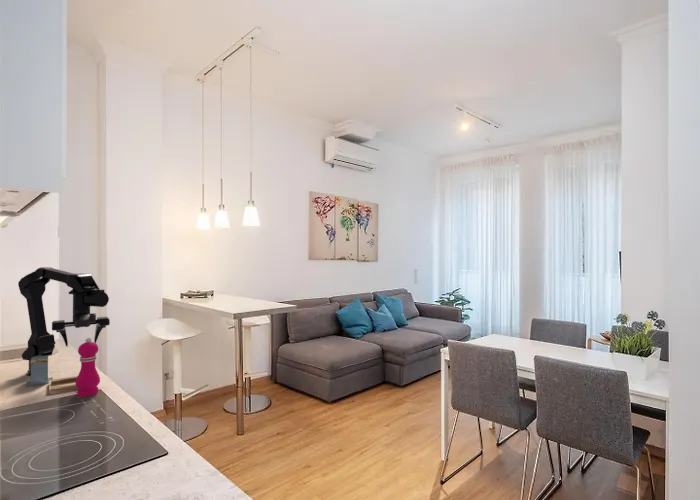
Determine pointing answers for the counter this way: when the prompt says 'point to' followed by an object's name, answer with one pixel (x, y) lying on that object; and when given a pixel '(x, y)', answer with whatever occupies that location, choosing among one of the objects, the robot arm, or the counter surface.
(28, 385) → the mat
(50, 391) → the beige shallow tray
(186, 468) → the counter surface
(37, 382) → the tin
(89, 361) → the pepper mill
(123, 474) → the counter surface
